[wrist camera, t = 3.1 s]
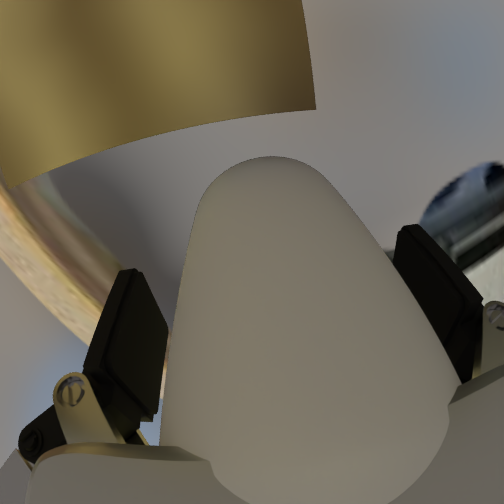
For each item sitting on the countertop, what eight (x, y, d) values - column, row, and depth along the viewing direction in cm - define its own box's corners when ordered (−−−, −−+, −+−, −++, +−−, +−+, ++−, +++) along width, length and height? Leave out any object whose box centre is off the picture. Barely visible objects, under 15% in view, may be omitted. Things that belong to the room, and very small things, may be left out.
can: (175, 175, 11) (66, 547, 1) (331, 139, 11) (576, 436, 1) (218, 291, 15) (221, 545, 5) (341, 264, 14) (432, 501, 4)
